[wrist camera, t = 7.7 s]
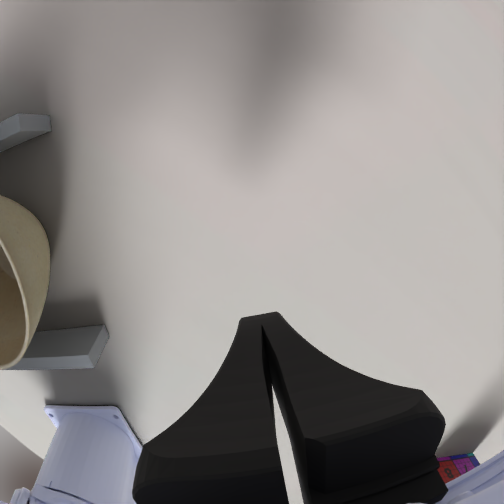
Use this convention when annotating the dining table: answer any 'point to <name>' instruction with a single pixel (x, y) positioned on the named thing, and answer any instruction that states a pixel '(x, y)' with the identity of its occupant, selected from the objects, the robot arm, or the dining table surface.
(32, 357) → the bracket
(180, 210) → the dining table surface
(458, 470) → the puzzle
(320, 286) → the dining table surface
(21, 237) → the flower pot
